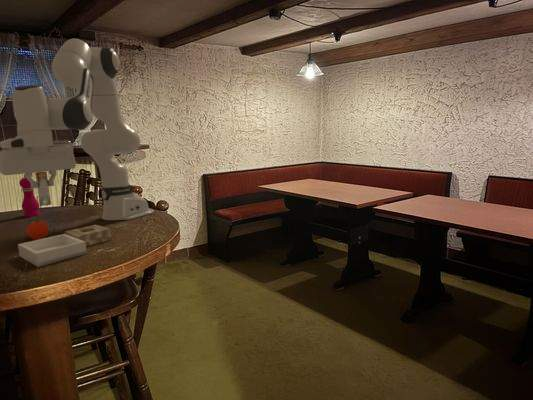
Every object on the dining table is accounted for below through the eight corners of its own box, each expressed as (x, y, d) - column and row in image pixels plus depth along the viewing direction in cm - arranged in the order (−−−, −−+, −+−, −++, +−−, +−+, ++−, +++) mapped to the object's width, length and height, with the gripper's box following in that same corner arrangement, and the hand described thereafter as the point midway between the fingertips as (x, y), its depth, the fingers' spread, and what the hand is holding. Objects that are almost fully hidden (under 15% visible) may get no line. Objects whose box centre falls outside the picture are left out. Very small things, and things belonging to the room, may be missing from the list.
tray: (65, 245, 130) (64, 233, 129) (86, 253, 120) (85, 241, 119) (19, 256, 120) (17, 244, 119) (38, 266, 110) (36, 253, 109)
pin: (49, 203, 119) (44, 171, 117) (52, 204, 117) (48, 172, 115) (38, 205, 117) (33, 172, 115) (42, 206, 115) (37, 173, 113)
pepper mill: (43, 214, 183) (37, 173, 179) (28, 217, 177) (21, 175, 173) (35, 213, 187) (29, 173, 183) (20, 216, 181) (13, 174, 177)
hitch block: (96, 235, 142) (95, 224, 141) (111, 239, 135) (110, 228, 134) (66, 242, 134) (64, 231, 133) (79, 247, 126) (78, 236, 126)
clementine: (21, 242, 136) (17, 223, 135) (35, 236, 143) (32, 218, 142) (41, 242, 135) (38, 222, 134) (54, 236, 142) (51, 218, 140)
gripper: (67, 139, 123) (73, 181, 126) (-7, 142, 108) (1, 190, 110) (76, 139, 119) (81, 182, 121) (-1, 142, 104) (8, 192, 106)
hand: (42, 186), depth 116 cm, fingers closed on pin, 3 cm apart
